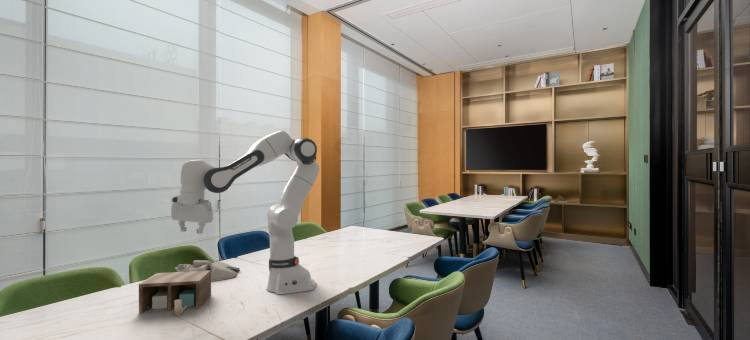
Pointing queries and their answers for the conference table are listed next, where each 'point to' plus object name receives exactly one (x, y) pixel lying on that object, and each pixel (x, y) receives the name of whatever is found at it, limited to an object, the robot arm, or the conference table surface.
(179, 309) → the tethered block
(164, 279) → the walnut shelf
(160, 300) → the plain block
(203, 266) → the mask
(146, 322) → the conference table surface
